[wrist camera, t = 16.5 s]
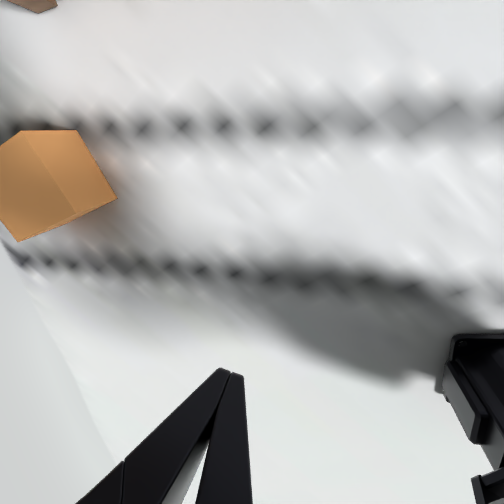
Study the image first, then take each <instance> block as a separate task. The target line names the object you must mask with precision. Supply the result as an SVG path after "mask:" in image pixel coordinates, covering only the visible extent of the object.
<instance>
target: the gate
mask: <svg viewBox="0 0 504 504" xmlns="http://www.w3.org/2000/svg"><path fill="white" fill-rule="evenodd" d="M7 1H10V2H12V3H15V4H17V5H19V6H22V7H24V8H27V9H29V10H31V11H34V12H36V13H41V12H43V11H46V10H48V9H51V8H53V7H56V6H58V5H57V3H56V0H7Z"/></svg>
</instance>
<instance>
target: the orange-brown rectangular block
mask: <svg viewBox="0 0 504 504" xmlns="http://www.w3.org/2000/svg"><path fill="white" fill-rule="evenodd" d="M115 199H118V198H117V197H116V195H115V193H114V192H113V190H112V188H111V187H110V185H109V183H108V182H107V180H106V178H105V177H104V175H103V173H102V172H101V170H100V168H99V167H98V165H97V163H96V162H95V160H94V158H93V157H92V155H91V153H90V152H89V150H88V148H87V147H86V145H85V143H84V142H83V140H82V138H81V137H80V135H79V133H78V132H77V130H39V131H20V132H18V133H17V134H16V135H14V136H13V137H12V138H10V139H9V140H8V141H6V142H5V143H3V144H2V145H1V146H0V220H1V221H2V223H3V224H4V225H5V227H6V228H7V229H8V230H9V232H10V233H11V234H12V236H13V237H14V238H15V239H16V241H17V242H20V241H23V240H26V239H28V238H31V237H33V236H36V235H38V234H41V233H44V232H46V231H49V230H51V229H54V228H56V227H59V226H61V225H64V224H66V223H68V222H70V221H72V220H74V219H76V218H78V217H81V216H83V215H85V214H87V213H89V212H91V211H93V210H95V209H97V208H99V207H101V206H103V205H105V204H107V203H109V202H111V201H113V200H115Z"/></svg>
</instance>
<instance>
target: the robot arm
mask: <svg viewBox="0 0 504 504" xmlns="http://www.w3.org/2000/svg"><path fill="white" fill-rule="evenodd" d="M461 341H463V342H461ZM459 342H461V343H459ZM442 387H443V390H444V397H445V399H446V401H447V402H449V403H451V405H452V407H453V409H454V411H455V413H456V415H457V417H458V419H459V421H460V423H461V425H462V427H463V429H464V431H465V433H466V435H467V437H468V439H469V440H470V441H471V442H472V443H473V444H477V445H481V447H482V449H483V451H484V452H485V454H486V456H487V458H488V460H489V462H490V464H491V466H492V468H493V469H494V471H492V472H490V473H488V474H485V475H483V476H481V475H477V476H475V477H473V478H471V482H472V486H473V491H474V495H475V500H476V504H504V334H459V335H456V336H454V337H453V338H452V341H451V348H450V354H449V360H448V361H447V362H446V363H445V369H444V376H443V383H442ZM208 444H209V445H208ZM207 447H208V449H207ZM206 449H207V454H206V458H205V463H204V467H203V471H202V476H201V480H200V485H199V489H198V494H197V498H196V502H195V504H253V501H252V487H251V473H250V459H249V444H248V430H247V416H246V402H245V388H244V377H243V376H242V375H240V374H237V373H234V372H232V373H231V372H230V371H228V370H226V369H223V368H218V369H217V370H216V371H215V372H214V373H213V374H212V375H211V376H209V377H208V378H207V379H206V380H205V381H204V382H203V383H202V384H201V385H200V386H199V387H198V388H197V389H196V390H195V391H194V392H193V393H192V394H191V395H190V396H189V397H188V398H187V399H186V400H185V401H184V402H183V403H182V404H180V405H179V406H178V407H177V408H176V409H175V410H174V411H173V412H172V413H171V414H170V415H169V416H168V417H167V418H166V419H165V420H164V421H163V422H162V423H161V424H160V425H159V426H158V427H157V428H156V429H155V430H154V431H153V432H151V433H150V434H149V435H148V436H147V437H146V438H145V439H144V440H143V441H142V442H141V443H140V444H139V445H138V446H137V447H136V448H135V449H134V450H133V451H132V452H131V453H130V454H129V455H128V456H127V457H126V458H125V460H124V461H121V462H120V463H119V464H118V465H117V466H116V467H115V468H114V469H113V470H112V471H111V472H110V473H109V474H108V475H107V476H106V477H105V478H104V479H102V480H101V481H100V482H99V483H98V484H97V485H96V486H95V487H94V488H93V489H92V490H90V492H88V493H87V494H86V495H85V496H84V497H83V498H81V499H80V500H79V501H78V502H77V503H76V504H182V502H183V500H184V497H185V495H186V493H187V491H188V489H189V486H190V484H191V482H192V480H193V478H194V476H195V473H196V471H197V469H198V467H199V465H200V462H201V460H202V458H203V456H204V454H205V451H206Z"/></svg>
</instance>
